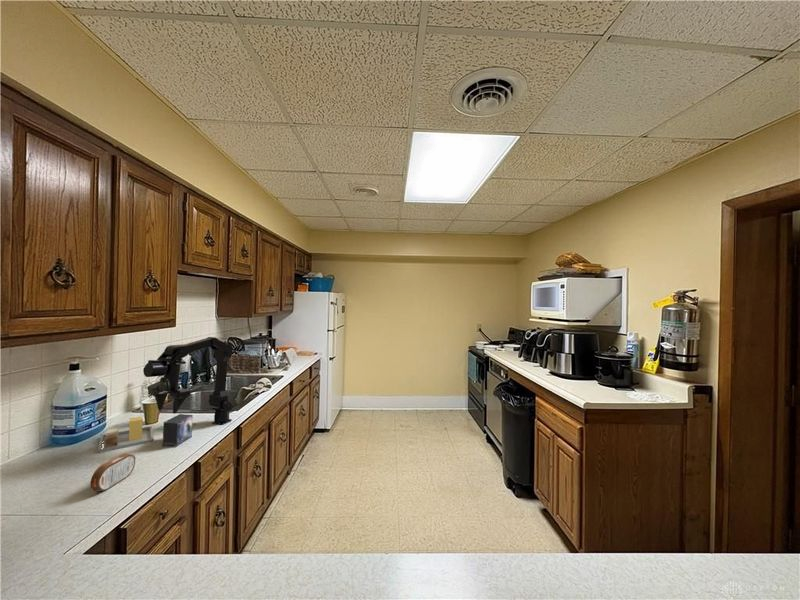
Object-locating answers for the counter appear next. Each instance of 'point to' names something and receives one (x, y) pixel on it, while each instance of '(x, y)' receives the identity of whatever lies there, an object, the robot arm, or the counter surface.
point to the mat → (162, 427)
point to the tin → (112, 472)
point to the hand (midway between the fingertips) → (167, 411)
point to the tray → (124, 440)
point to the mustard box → (135, 428)
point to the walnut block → (111, 440)
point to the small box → (177, 430)
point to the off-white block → (112, 431)
